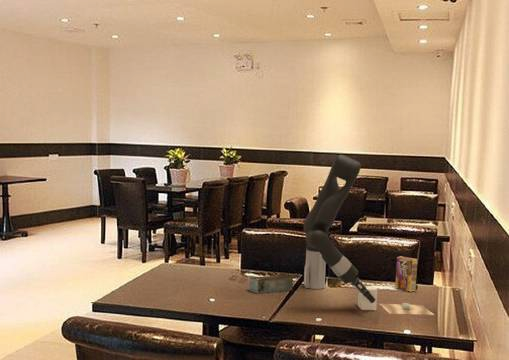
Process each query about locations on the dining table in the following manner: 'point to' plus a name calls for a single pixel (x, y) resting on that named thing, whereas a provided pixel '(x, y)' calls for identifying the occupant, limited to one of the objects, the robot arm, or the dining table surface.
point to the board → (413, 310)
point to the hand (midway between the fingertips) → (371, 299)
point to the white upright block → (364, 302)
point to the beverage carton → (271, 284)
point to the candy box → (406, 273)
